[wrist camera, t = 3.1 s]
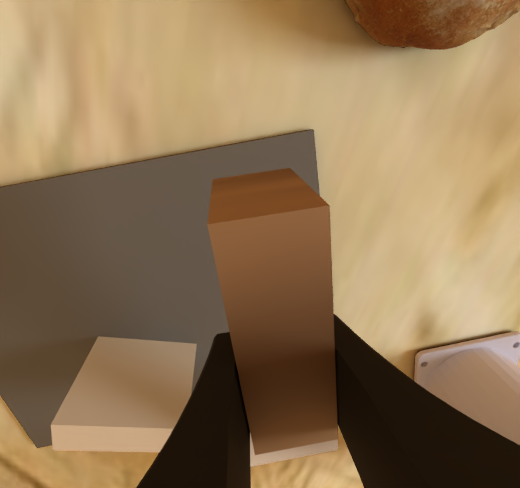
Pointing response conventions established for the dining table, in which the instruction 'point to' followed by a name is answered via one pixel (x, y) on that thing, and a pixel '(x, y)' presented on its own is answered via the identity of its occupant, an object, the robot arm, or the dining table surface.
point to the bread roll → (430, 20)
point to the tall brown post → (278, 309)
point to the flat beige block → (125, 396)
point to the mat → (116, 264)
